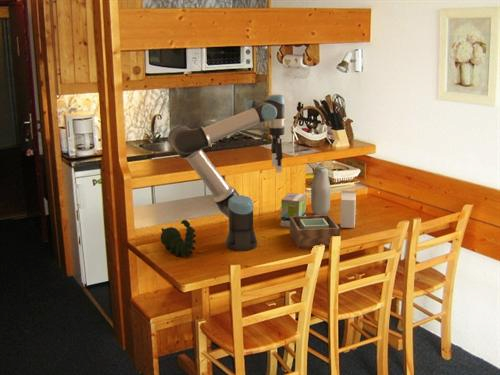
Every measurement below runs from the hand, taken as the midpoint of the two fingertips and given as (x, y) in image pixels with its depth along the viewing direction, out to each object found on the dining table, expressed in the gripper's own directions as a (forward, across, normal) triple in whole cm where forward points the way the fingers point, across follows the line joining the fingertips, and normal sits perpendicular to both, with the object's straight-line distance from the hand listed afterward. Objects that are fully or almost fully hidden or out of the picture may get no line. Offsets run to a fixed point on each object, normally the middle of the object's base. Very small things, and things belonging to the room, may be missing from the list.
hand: (276, 169), depth 328 cm
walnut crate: (+33, -15, -16) cm, 39 cm away
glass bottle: (+33, +24, -28) cm, 49 cm away
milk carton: (+33, +4, -38) cm, 50 cm away
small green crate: (+32, -15, -16) cm, 39 cm away
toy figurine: (+33, -24, +51) cm, 65 cm away
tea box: (+33, +13, -11) cm, 37 cm away
